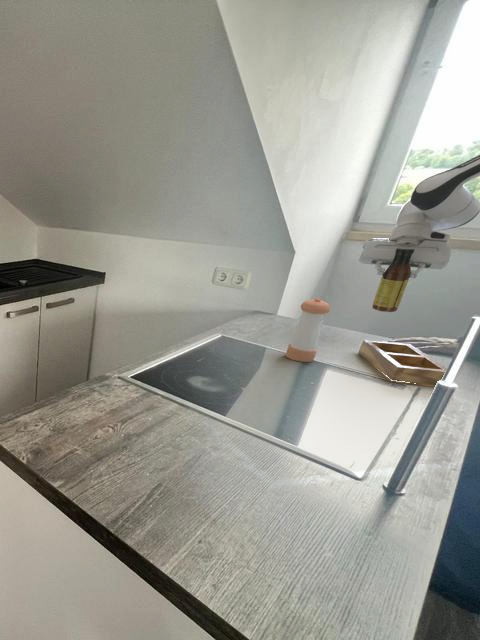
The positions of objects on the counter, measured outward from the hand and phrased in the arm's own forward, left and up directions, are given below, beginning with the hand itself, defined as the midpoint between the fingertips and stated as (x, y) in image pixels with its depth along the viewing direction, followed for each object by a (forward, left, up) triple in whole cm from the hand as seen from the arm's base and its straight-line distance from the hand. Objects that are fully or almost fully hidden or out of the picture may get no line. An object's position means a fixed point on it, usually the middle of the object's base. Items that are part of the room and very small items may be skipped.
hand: (396, 275), depth 122 cm
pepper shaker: (+25, +21, -23) cm, 40 cm away
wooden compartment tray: (+1, +22, -23) cm, 32 cm away
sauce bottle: (0, -1, -12) cm, 12 cm away
